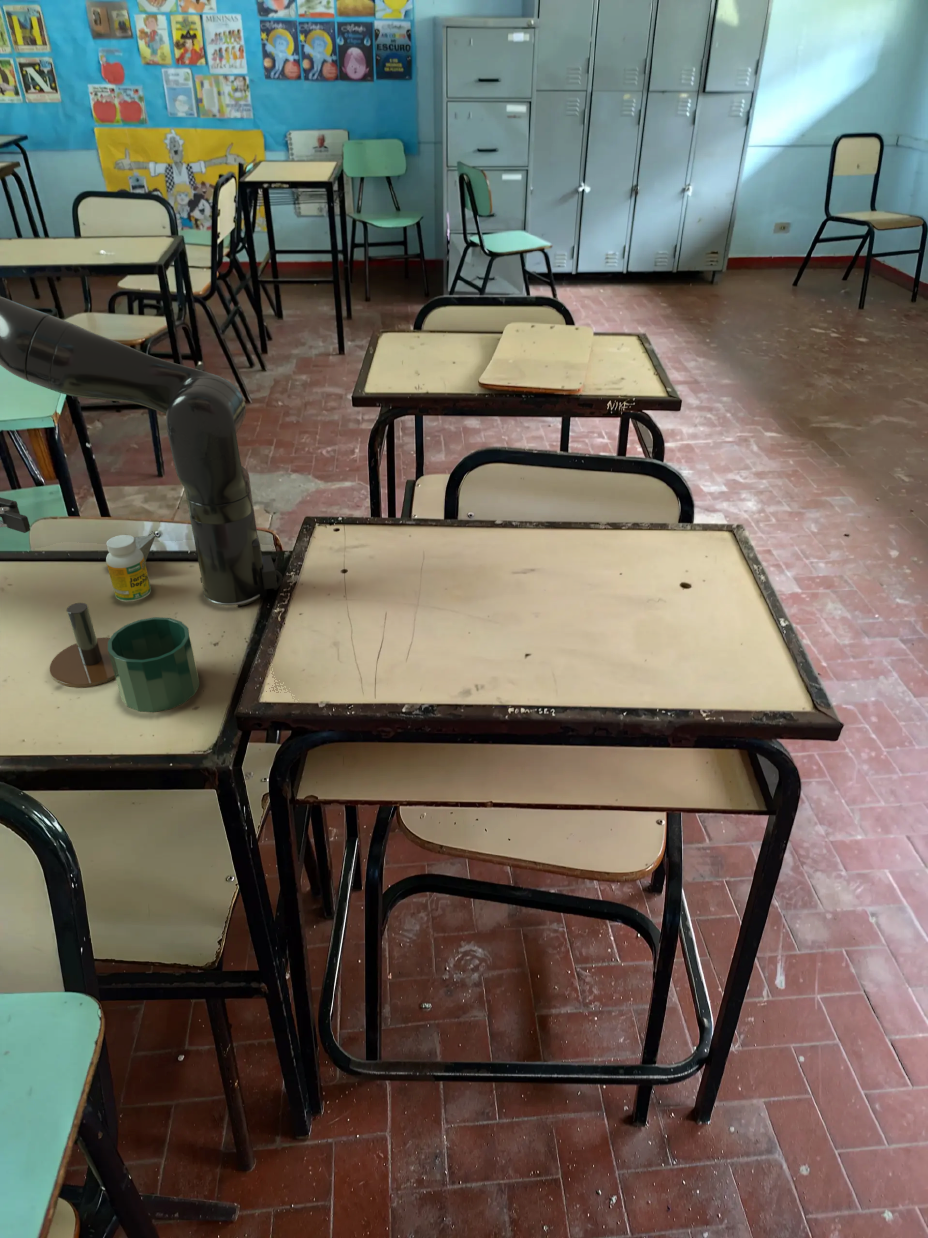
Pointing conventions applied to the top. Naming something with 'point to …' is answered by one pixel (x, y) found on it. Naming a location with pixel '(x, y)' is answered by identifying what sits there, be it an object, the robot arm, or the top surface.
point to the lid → (83, 654)
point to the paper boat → (144, 544)
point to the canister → (154, 664)
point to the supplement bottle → (127, 569)
